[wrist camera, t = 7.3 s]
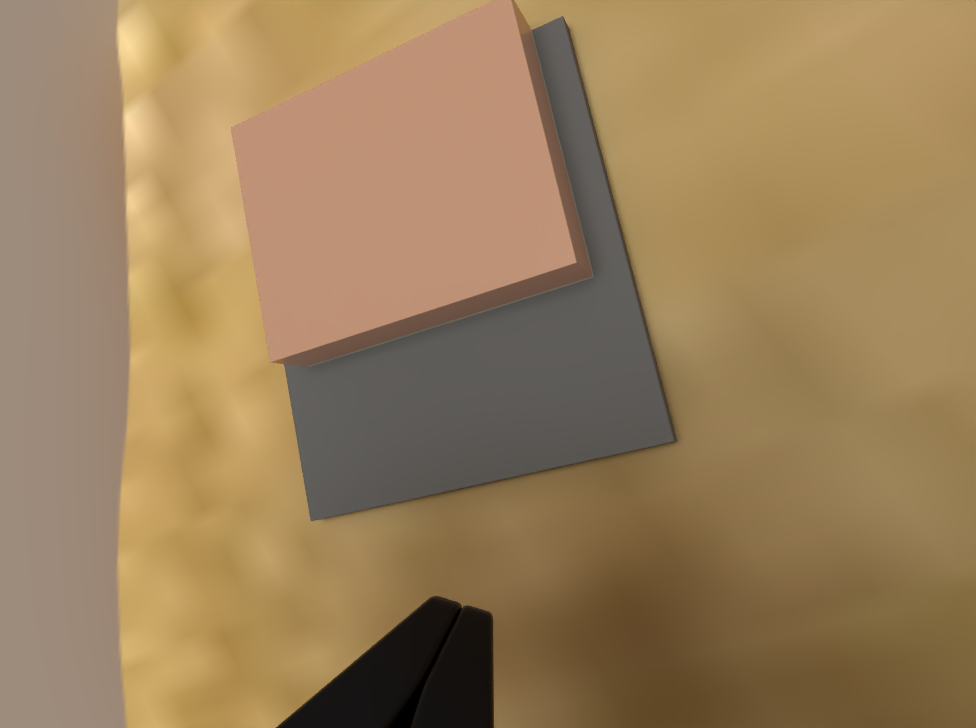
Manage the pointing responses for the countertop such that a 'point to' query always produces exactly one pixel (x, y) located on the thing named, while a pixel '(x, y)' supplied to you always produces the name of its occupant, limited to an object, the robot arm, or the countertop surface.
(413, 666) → the robot arm
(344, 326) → the tile
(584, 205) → the mat
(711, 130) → the countertop surface
